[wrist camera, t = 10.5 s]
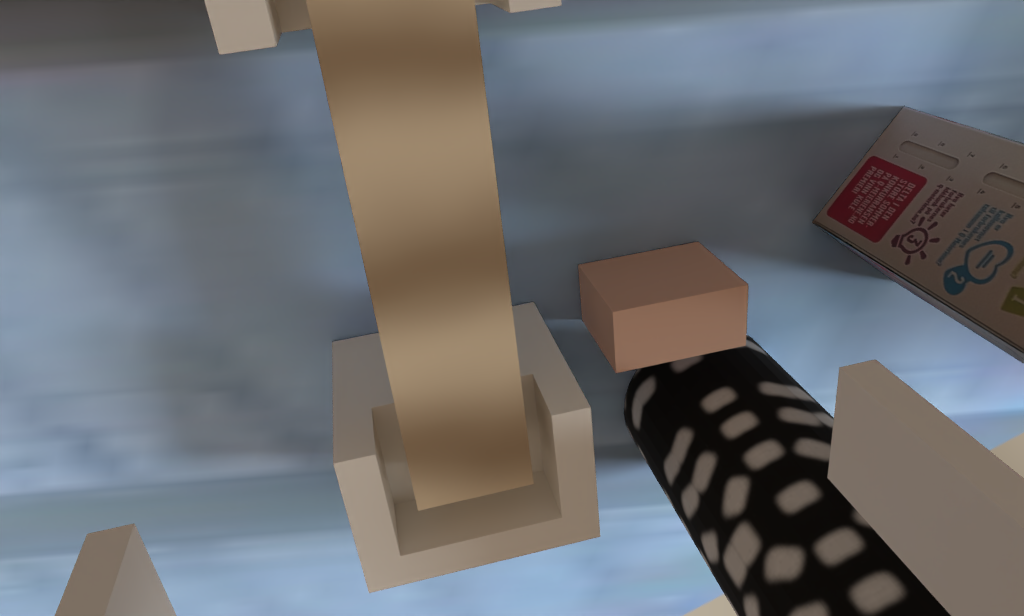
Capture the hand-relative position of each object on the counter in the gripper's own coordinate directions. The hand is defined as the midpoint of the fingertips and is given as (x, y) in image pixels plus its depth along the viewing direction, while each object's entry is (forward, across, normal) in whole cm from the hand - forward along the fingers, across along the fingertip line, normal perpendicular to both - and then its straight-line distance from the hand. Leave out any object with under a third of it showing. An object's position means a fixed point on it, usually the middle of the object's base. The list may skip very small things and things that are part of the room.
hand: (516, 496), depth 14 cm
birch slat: (+15, 0, 0) cm, 15 cm away
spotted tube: (+21, -13, +14) cm, 28 cm away
